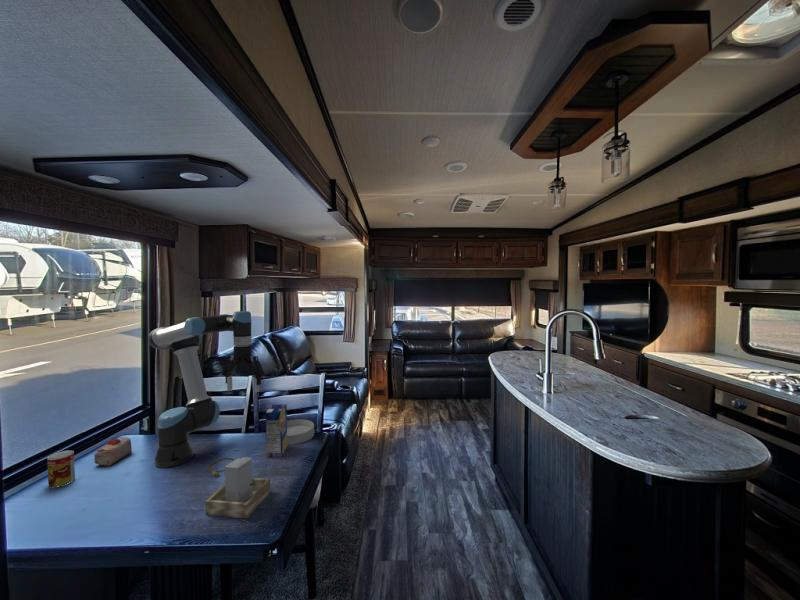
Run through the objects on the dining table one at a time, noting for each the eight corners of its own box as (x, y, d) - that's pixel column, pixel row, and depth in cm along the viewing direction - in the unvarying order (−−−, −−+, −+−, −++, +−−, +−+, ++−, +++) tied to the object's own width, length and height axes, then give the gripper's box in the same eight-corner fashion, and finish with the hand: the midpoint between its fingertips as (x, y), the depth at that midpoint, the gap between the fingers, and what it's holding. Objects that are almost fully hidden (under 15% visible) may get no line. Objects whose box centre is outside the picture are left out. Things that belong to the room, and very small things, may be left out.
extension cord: (198, 479, 146) (197, 474, 145) (216, 460, 161) (215, 456, 161) (227, 478, 146) (226, 473, 146) (242, 459, 162) (242, 455, 162)
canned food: (48, 483, 142) (47, 455, 141) (74, 475, 148) (73, 448, 147) (48, 490, 137) (47, 461, 136) (75, 482, 142) (74, 454, 142)
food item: (109, 467, 154) (109, 446, 154) (92, 467, 154) (91, 446, 154) (134, 453, 168) (133, 433, 167) (118, 452, 168) (117, 433, 168)
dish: (281, 427, 198) (281, 419, 198) (319, 427, 198) (319, 419, 197) (265, 445, 176) (265, 435, 176) (307, 445, 176) (307, 436, 175)
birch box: (205, 514, 122) (205, 501, 122) (233, 488, 138) (232, 476, 138) (247, 518, 120) (247, 504, 120) (270, 491, 136) (270, 479, 136)
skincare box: (238, 508, 124) (237, 468, 123) (224, 505, 126) (223, 466, 125) (253, 495, 132) (252, 457, 132) (240, 492, 134) (239, 455, 133)
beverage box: (266, 457, 162) (265, 412, 162) (273, 447, 173) (272, 404, 172) (281, 457, 163) (280, 412, 162) (287, 446, 174) (286, 404, 173)
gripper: (212, 345, 153) (213, 392, 154) (263, 347, 149) (264, 395, 150) (223, 342, 160) (223, 387, 161) (272, 344, 157) (272, 389, 157)
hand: (243, 391), depth 156 cm, fingers open, 13 cm apart
